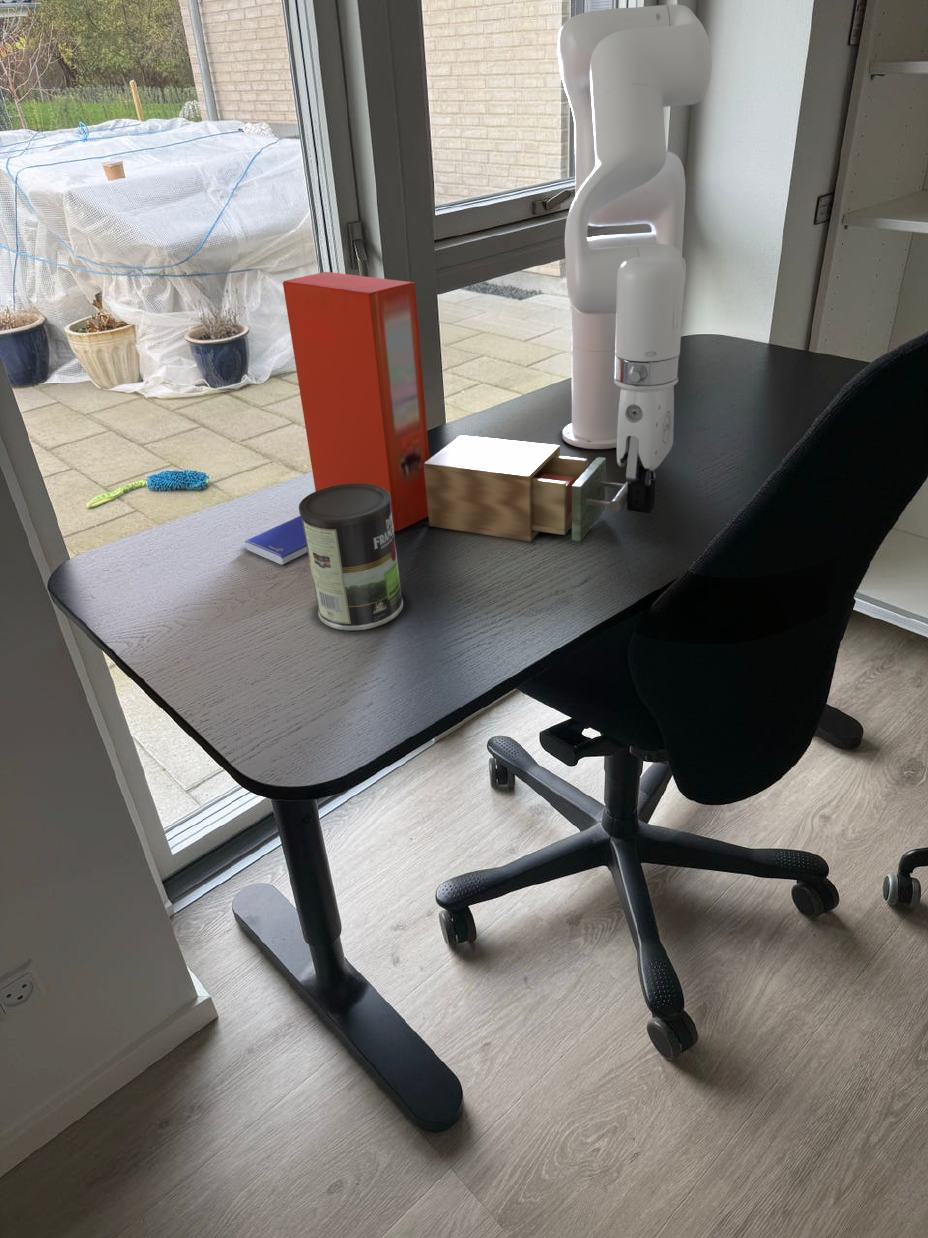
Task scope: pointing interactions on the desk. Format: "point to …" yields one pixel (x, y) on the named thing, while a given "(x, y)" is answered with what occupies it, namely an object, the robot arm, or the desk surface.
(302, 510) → the coffee can
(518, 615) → the desk surface
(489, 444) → the cabinet
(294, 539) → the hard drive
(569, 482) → the block
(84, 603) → the desk surface
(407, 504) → the file binder
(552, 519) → the drawer
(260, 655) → the desk surface
